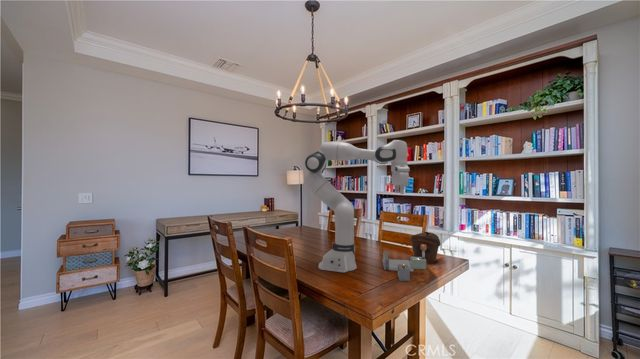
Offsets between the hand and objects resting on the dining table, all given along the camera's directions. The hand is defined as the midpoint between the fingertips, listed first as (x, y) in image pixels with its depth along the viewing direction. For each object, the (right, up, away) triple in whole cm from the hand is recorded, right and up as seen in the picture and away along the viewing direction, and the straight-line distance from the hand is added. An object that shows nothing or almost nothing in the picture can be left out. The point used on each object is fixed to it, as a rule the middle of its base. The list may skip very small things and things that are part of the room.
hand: (399, 193), depth 152 cm
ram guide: (+13, -44, +7) cm, 47 cm away
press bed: (+1, -44, +9) cm, 45 cm away
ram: (+14, -41, +7) cm, 44 cm away
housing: (-1, -45, -10) cm, 46 cm away
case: (+23, -44, +21) cm, 54 cm away
